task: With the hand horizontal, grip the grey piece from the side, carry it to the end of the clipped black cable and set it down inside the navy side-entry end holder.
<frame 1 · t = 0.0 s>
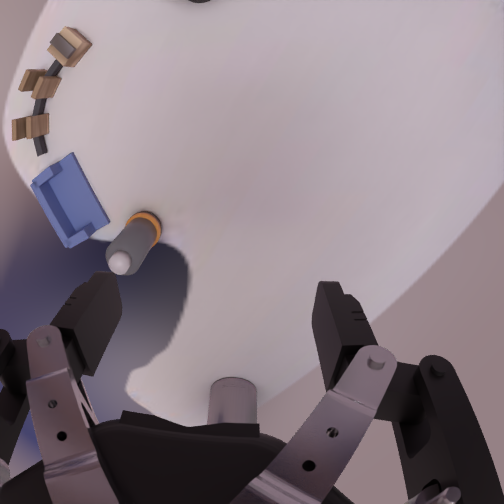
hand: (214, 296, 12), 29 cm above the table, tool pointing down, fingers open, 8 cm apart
clip1: (38, 124, 34), resting in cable
tan wooden end block: (74, 47, 30), on the table
grey piece: (146, 226, 42), on the table
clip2: (48, 83, 32), resting in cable
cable: (48, 122, 34), resting on tan wooden end block
holder: (81, 193, 40), on the table
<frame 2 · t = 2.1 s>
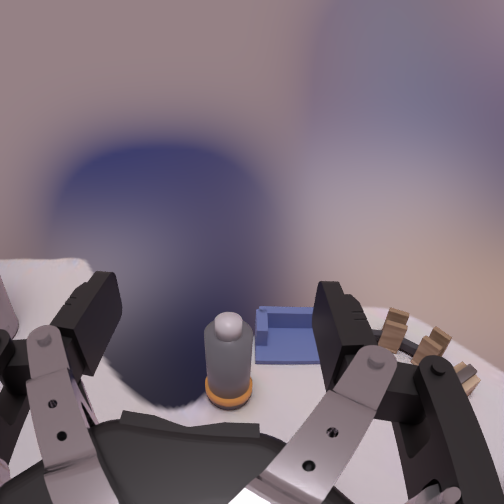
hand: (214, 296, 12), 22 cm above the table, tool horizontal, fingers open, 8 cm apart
clip1: (388, 342, 40), resting in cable
tan wooden end block: (453, 391, 31), on the table
grey piece: (228, 393, 32), on the table
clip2: (425, 361, 36), resting in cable
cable: (387, 351, 38), resting on tan wooden end block
holder: (301, 352, 38), on the table
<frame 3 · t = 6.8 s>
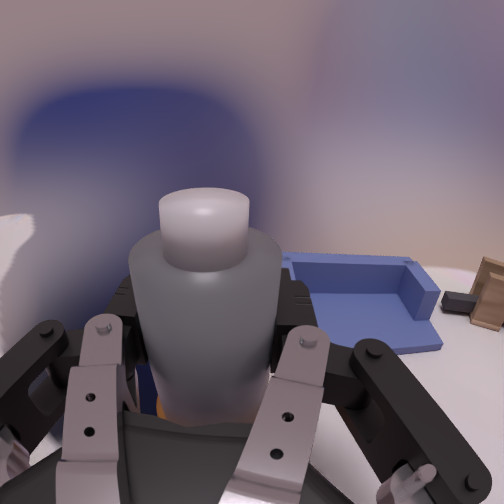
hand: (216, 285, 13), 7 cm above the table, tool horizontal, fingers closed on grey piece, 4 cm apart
clip1: (482, 314, 21), resting in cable
grey piece: (215, 426, 13), on the table, touching gripper
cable: (485, 327, 19), resting on tan wooden end block
holder: (358, 335, 19), on the table
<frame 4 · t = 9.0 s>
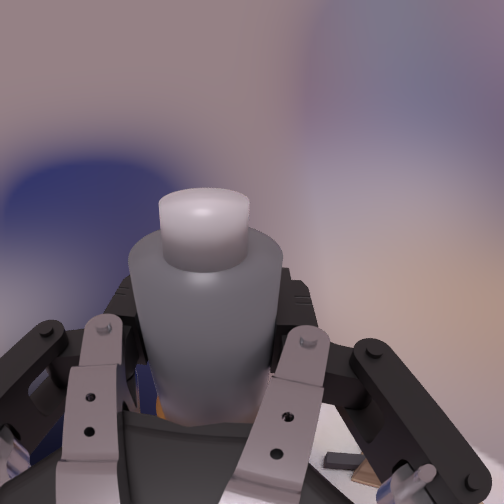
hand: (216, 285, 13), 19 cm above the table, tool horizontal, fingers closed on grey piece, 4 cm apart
clip1: (372, 466, 21), resting in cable
grey piece: (215, 426, 13), point 12 cm above the table, touching gripper
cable: (367, 485, 19), resting on tan wooden end block
when the fingers open (8 cm above the table, at t = 11.4 s): grey piece stays where it is, resting on holder.
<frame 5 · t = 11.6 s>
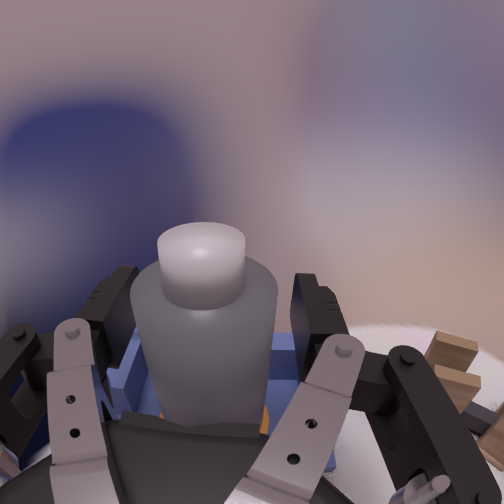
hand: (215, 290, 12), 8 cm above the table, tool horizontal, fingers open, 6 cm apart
clip1: (427, 405, 16), resting in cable
grey piece: (216, 437, 14), point 1 cm above the table, touching holder
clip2: (499, 440, 12), resting in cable
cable: (425, 429, 14), resting on tan wooden end block
holder: (217, 441, 14), on the table
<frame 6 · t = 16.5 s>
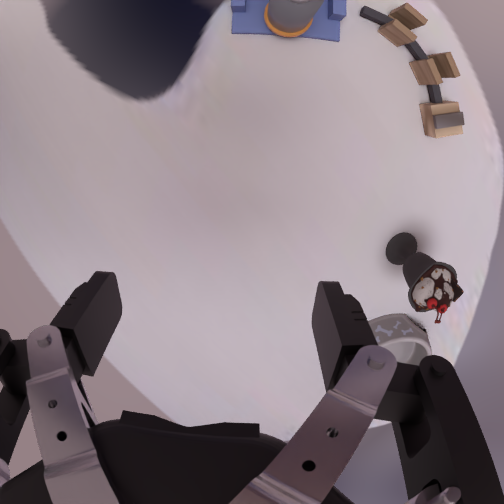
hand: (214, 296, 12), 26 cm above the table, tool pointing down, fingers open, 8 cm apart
clip1: (394, 28, 26), resting in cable
tan wooden end block: (435, 117, 31), on the table
grey piece: (286, 19, 26), point 1 cm above the table, touching holder
dog bowl: (380, 351, 50), on the table
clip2: (425, 69, 28), resting in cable
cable: (388, 39, 27), resting on tan wooden end block
holder: (286, 20, 27), on the table
sundae: (400, 248, 40), on the table
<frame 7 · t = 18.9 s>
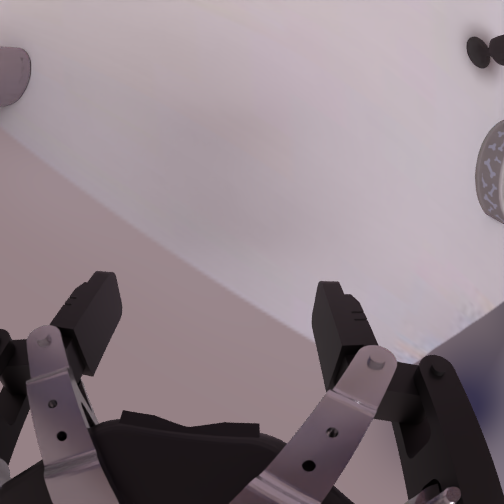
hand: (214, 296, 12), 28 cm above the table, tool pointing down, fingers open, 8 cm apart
sundae: (477, 52, 28), on the table
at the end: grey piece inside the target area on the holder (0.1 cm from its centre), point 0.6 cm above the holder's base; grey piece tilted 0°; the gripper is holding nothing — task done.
